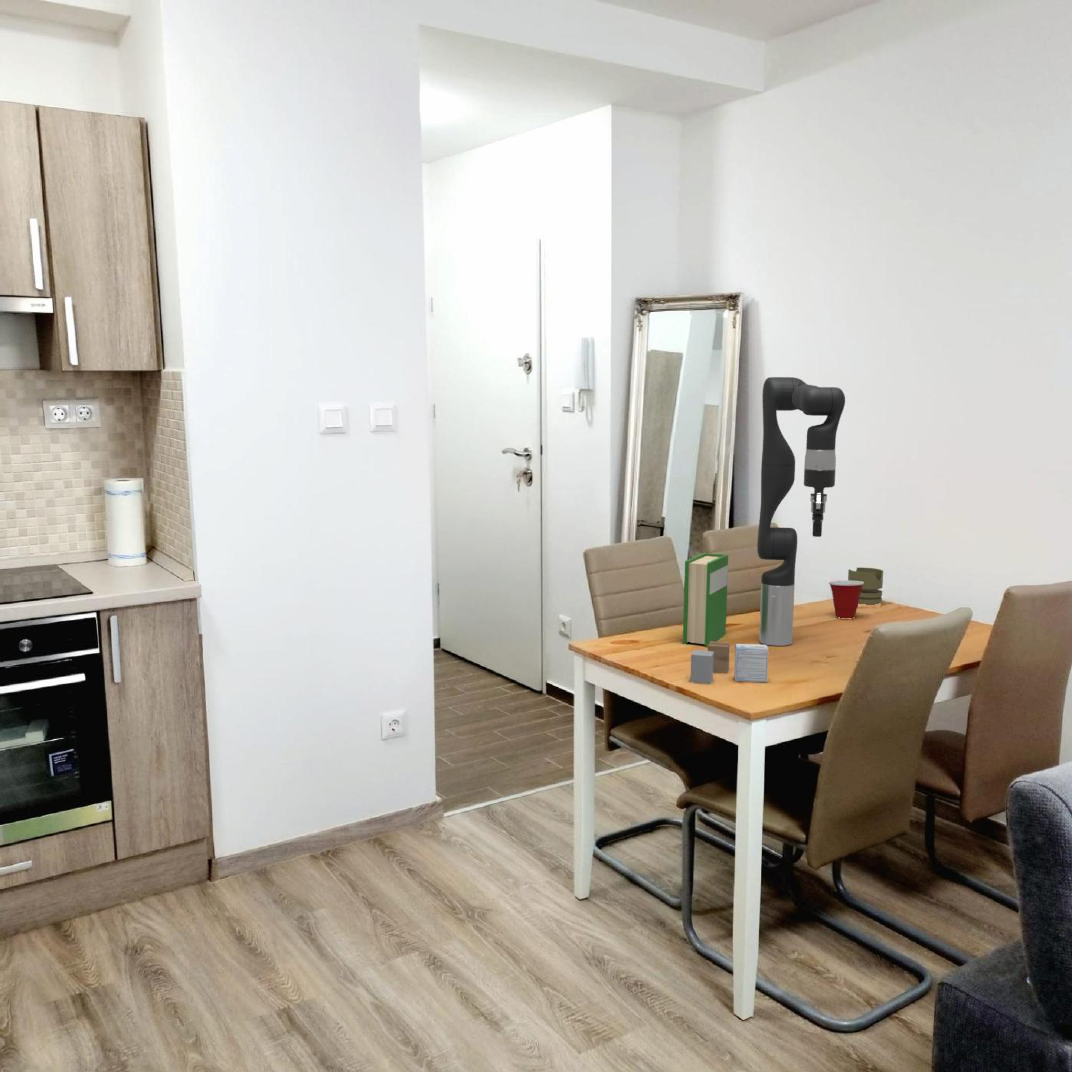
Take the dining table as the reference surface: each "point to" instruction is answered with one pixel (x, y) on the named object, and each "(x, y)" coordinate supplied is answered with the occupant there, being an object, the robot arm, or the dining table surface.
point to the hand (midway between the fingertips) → (816, 536)
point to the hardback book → (705, 598)
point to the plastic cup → (846, 597)
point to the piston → (868, 584)
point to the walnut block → (720, 656)
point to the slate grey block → (702, 666)
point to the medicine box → (751, 663)
